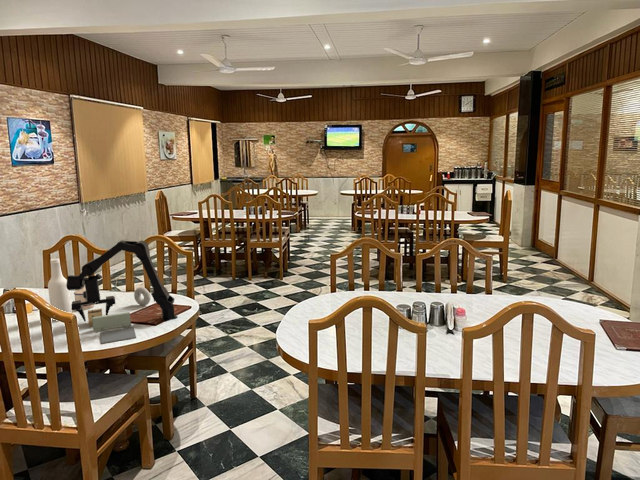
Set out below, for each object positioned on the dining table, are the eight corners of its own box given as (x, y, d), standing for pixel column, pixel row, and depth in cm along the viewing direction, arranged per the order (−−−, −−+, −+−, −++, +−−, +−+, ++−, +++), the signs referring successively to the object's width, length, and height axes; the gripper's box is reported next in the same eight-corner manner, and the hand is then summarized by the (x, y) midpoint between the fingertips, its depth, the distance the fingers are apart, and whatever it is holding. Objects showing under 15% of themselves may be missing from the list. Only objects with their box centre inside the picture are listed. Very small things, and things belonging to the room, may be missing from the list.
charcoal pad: (136, 338, 209) (136, 337, 209) (101, 344, 204) (101, 342, 204) (133, 327, 222) (133, 326, 222) (100, 332, 216) (100, 331, 216)
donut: (152, 305, 253) (151, 287, 251) (148, 307, 250) (146, 289, 248) (138, 303, 257) (136, 285, 255) (133, 305, 254) (131, 287, 252)
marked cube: (103, 324, 227) (101, 312, 226) (89, 326, 225) (87, 314, 224) (102, 320, 233) (101, 308, 232) (89, 322, 230) (87, 310, 229)
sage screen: (131, 326, 223) (130, 314, 222) (93, 332, 217) (92, 320, 216) (130, 322, 229) (129, 310, 228) (93, 328, 222) (92, 315, 221)
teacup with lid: (85, 310, 247) (83, 289, 244) (71, 309, 249) (69, 288, 247) (102, 303, 258) (100, 282, 256) (88, 302, 260) (86, 281, 258)
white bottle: (53, 322, 231) (45, 262, 225) (51, 317, 238) (43, 258, 232) (73, 318, 236) (66, 259, 230) (70, 313, 243) (63, 256, 237)
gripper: (113, 281, 237) (116, 311, 240) (70, 286, 229) (74, 317, 232) (113, 287, 227) (117, 318, 230) (69, 293, 219) (73, 325, 222)
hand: (95, 319), depth 229 cm, fingers open, 9 cm apart
